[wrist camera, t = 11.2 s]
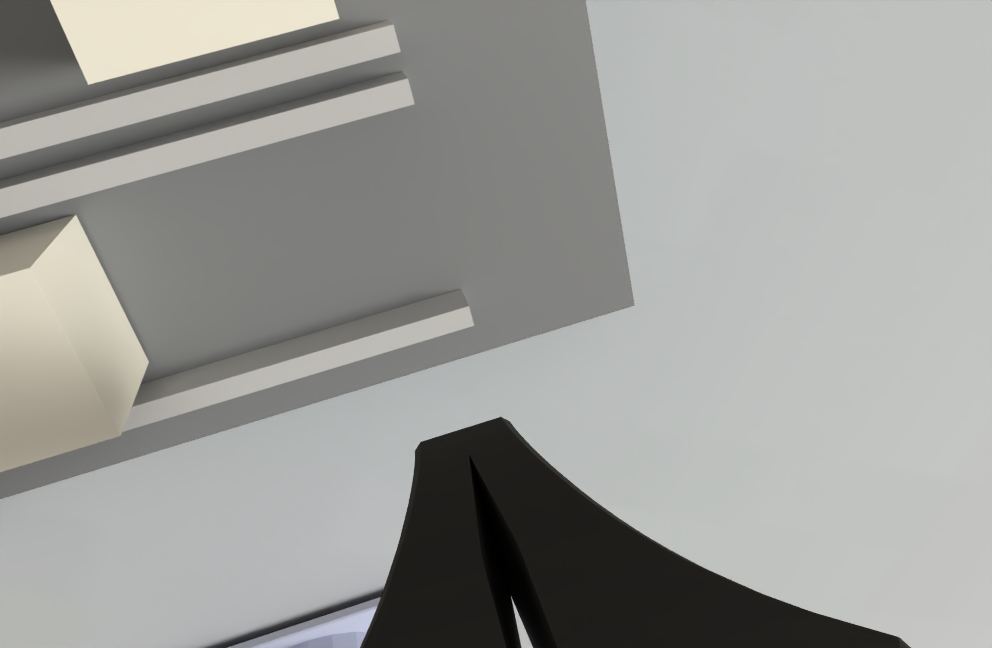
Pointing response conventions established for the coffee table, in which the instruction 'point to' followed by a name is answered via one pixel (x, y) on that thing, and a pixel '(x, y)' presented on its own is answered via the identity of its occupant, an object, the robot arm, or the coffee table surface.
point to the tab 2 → (174, 29)
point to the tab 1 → (61, 346)
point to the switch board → (319, 202)
